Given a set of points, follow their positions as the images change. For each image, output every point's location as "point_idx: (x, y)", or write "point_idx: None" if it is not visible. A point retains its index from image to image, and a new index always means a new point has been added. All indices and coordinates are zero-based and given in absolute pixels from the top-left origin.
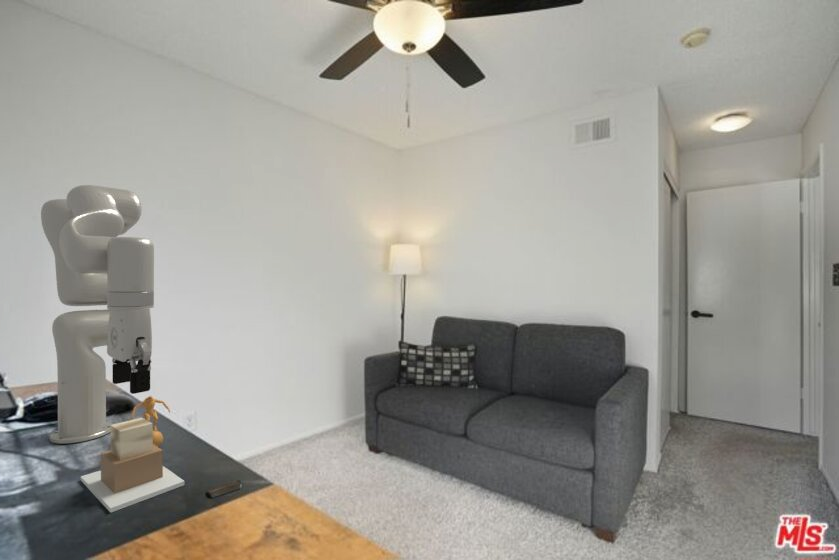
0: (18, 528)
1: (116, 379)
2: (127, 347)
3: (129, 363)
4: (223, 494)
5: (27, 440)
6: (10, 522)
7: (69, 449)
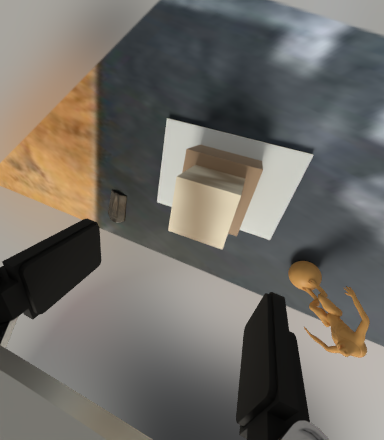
0: (244, 12)
1: (263, 310)
2: None
3: (239, 419)
4: (110, 199)
5: None
6: (280, 9)
7: None
